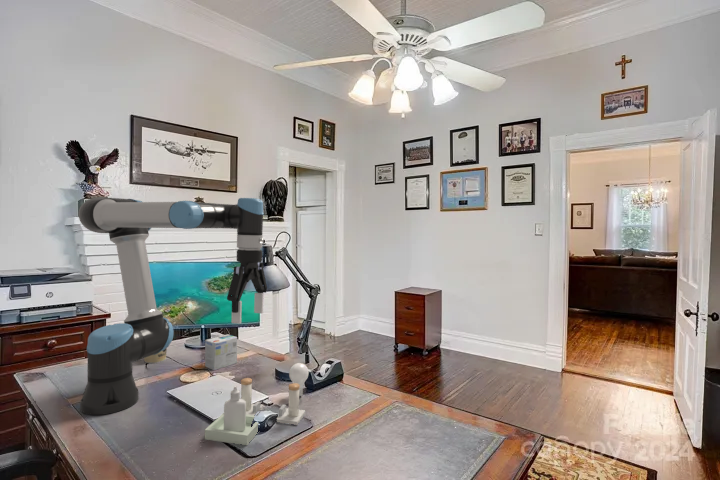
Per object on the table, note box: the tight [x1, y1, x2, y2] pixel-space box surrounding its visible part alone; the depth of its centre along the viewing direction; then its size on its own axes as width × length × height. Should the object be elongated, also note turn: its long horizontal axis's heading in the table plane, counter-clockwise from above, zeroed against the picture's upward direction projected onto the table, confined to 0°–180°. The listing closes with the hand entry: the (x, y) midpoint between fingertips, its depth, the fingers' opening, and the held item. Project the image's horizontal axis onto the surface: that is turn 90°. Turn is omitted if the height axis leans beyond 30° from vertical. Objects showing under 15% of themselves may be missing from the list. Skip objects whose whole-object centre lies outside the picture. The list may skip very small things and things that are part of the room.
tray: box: [204, 412, 259, 446], centre depth 106 cm, size 12×10×3 cm
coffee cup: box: [143, 347, 168, 364], centre depth 158 cm, size 9×9×12 cm
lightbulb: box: [288, 362, 310, 398], centre depth 128 cm, size 6×6×11 cm
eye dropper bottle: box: [223, 385, 246, 432], centre depth 106 cm, size 4×6×12 cm
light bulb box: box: [204, 333, 238, 371], centre depth 154 cm, size 11×7×11 cm, turn 144°
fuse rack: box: [240, 377, 306, 426], centre depth 116 cm, size 20×7×10 cm, turn 79°
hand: (248, 317), depth 120 cm, fingers open, 13 cm apart
